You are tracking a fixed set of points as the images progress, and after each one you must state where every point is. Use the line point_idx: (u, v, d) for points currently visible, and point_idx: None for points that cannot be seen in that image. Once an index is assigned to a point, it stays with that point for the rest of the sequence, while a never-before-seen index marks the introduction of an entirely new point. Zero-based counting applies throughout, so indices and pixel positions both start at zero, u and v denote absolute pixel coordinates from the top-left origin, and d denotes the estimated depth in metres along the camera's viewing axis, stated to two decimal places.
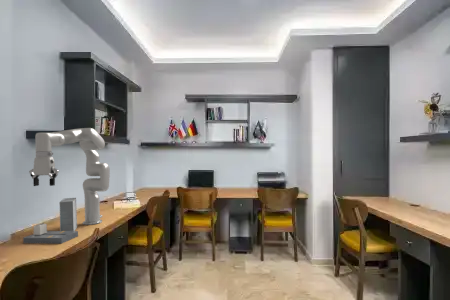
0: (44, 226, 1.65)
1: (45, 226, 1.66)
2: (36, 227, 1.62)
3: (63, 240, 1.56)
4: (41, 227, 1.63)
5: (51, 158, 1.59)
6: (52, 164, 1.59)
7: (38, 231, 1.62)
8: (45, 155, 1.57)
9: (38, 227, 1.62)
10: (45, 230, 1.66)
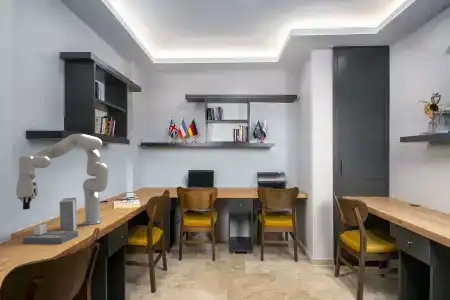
0: (44, 226, 1.65)
1: (45, 226, 1.66)
2: (36, 227, 1.62)
3: (63, 240, 1.56)
4: (41, 227, 1.63)
5: (33, 180, 1.65)
6: (34, 186, 1.65)
7: (38, 231, 1.62)
8: (28, 178, 1.63)
9: (38, 227, 1.62)
10: (45, 230, 1.66)
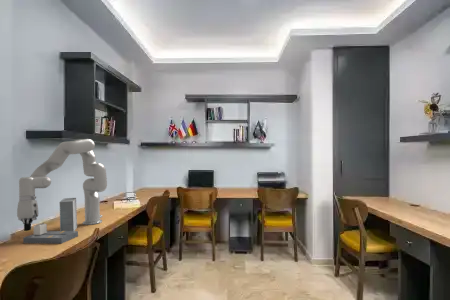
0: (44, 226, 1.65)
1: (45, 226, 1.66)
2: (36, 227, 1.62)
3: (63, 240, 1.56)
4: (41, 227, 1.63)
5: (34, 202, 1.65)
6: (35, 207, 1.65)
7: (38, 231, 1.62)
8: (28, 199, 1.63)
9: (38, 227, 1.62)
10: (45, 230, 1.66)
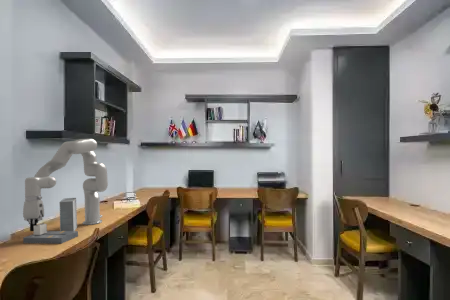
0: (44, 226, 1.65)
1: (45, 226, 1.66)
2: (36, 227, 1.62)
3: (63, 240, 1.56)
4: (41, 227, 1.63)
5: (40, 202, 1.65)
6: (41, 208, 1.65)
7: (38, 231, 1.62)
8: (34, 199, 1.62)
9: (38, 227, 1.62)
10: (45, 230, 1.66)
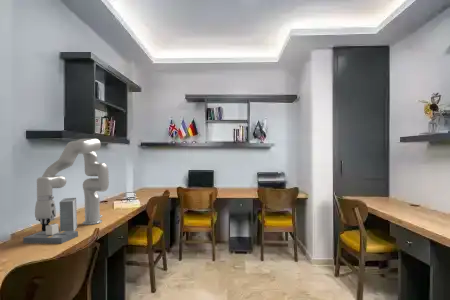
0: (56, 226, 1.64)
1: (57, 226, 1.65)
2: (48, 227, 1.61)
3: (63, 240, 1.56)
4: (53, 227, 1.62)
5: (52, 202, 1.64)
6: (53, 207, 1.64)
7: (50, 231, 1.61)
8: (46, 199, 1.62)
9: (50, 227, 1.61)
10: (57, 230, 1.65)
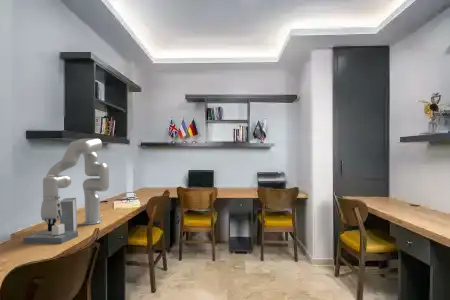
0: (62, 226, 1.63)
1: (63, 226, 1.64)
2: (54, 227, 1.60)
3: (63, 240, 1.56)
4: (59, 227, 1.61)
5: (58, 202, 1.63)
6: (59, 207, 1.63)
7: (56, 231, 1.60)
8: (52, 199, 1.61)
9: (56, 227, 1.60)
10: (63, 230, 1.64)
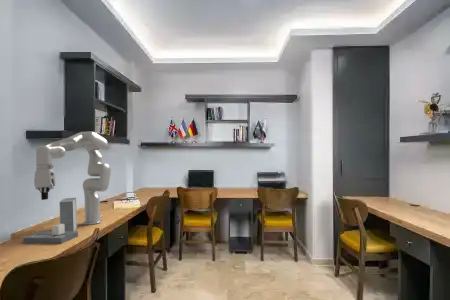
0: (62, 226, 1.63)
1: (63, 226, 1.64)
2: (54, 227, 1.60)
3: (63, 240, 1.56)
4: (59, 227, 1.61)
5: (51, 171, 1.64)
6: (52, 176, 1.64)
7: (56, 231, 1.60)
8: (45, 168, 1.62)
9: (56, 227, 1.60)
10: (63, 230, 1.64)
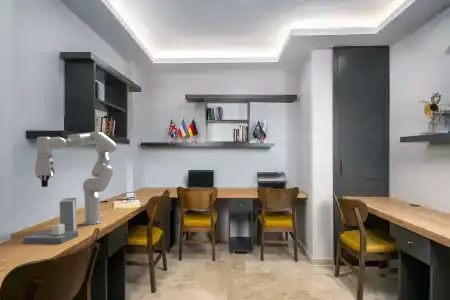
0: (62, 226, 1.63)
1: (63, 226, 1.64)
2: (54, 227, 1.60)
3: (63, 240, 1.56)
4: (59, 227, 1.61)
5: (51, 160, 1.75)
6: (52, 165, 1.75)
7: (56, 231, 1.60)
8: (45, 157, 1.73)
9: (56, 227, 1.60)
10: (63, 230, 1.64)
